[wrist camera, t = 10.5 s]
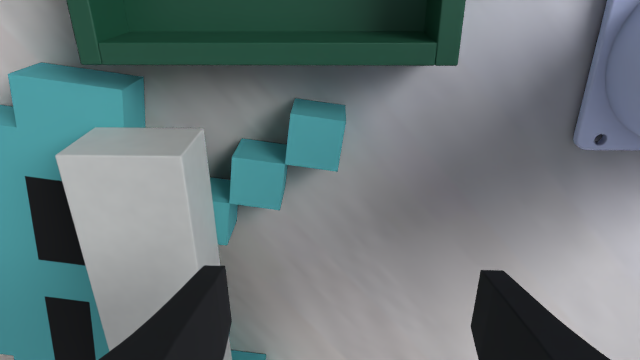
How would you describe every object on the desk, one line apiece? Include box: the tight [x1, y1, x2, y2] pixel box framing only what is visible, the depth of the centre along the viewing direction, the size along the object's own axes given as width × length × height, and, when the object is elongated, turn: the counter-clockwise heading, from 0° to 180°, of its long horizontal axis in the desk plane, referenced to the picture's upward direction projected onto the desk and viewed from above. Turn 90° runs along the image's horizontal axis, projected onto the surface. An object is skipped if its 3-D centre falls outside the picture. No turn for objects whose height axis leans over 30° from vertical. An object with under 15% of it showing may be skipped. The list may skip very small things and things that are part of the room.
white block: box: [55, 127, 232, 360], centre depth 21 cm, size 4×15×3 cm, turn 0°
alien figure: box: [0, 62, 346, 360], centre depth 23 cm, size 20×2×20 cm
